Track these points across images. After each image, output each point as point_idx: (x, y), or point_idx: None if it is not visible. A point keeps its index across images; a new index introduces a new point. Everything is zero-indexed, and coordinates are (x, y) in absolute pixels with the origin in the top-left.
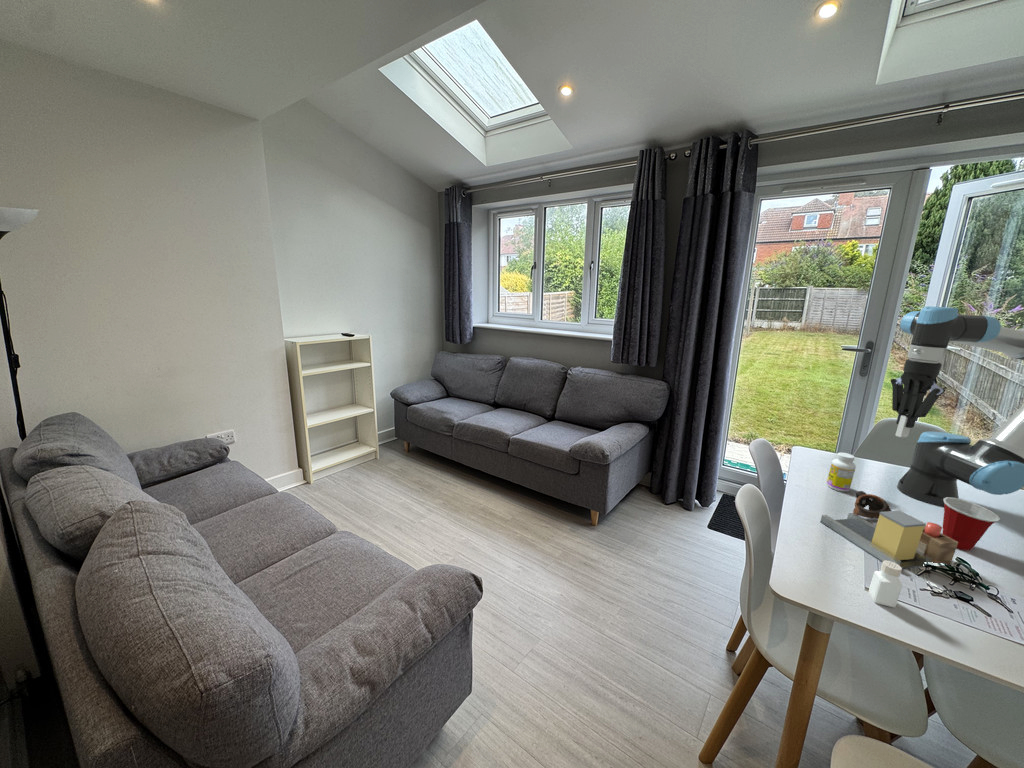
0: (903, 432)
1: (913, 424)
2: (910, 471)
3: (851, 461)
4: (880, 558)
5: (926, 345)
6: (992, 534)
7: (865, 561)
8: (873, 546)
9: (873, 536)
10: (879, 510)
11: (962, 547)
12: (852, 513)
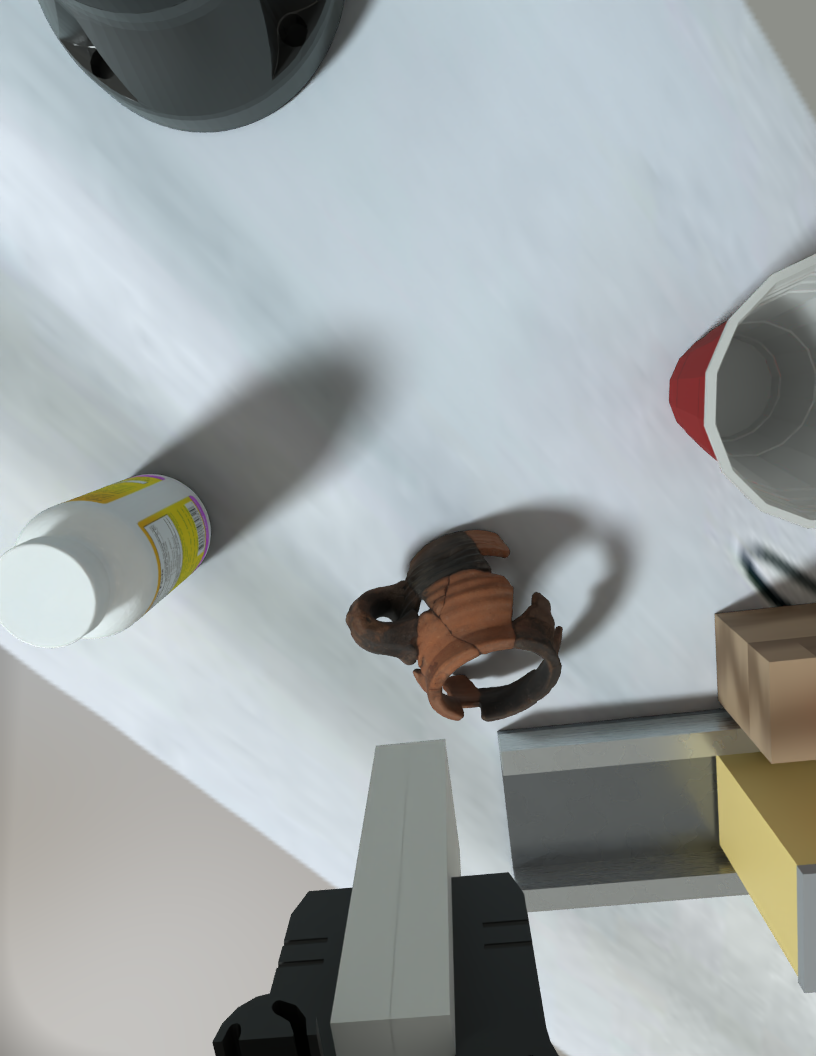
0: (457, 874)
1: (532, 947)
2: (80, 10)
3: (108, 578)
4: None
5: None
6: (652, 40)
7: None
8: None
9: (741, 878)
10: (550, 680)
11: (772, 417)
12: (506, 759)
